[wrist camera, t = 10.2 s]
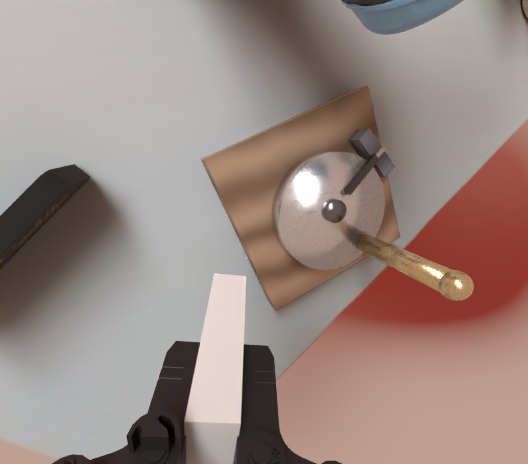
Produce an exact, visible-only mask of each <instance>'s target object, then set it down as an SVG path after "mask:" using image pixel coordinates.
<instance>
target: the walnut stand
mask: <svg viewBox="0 0 528 464" xmlns="http://www.w3.org/2000/svg"><path fill="white" fill-rule="evenodd" d="M385 150H386V148H385V147H384V146H382V147H381V145H380V140H379V135H378V131H377V126H376V121H375V117H374V112H373V107H372V103H371V98H370V93H369V89H368V86H366V87H362V88H359V89H355V90H353V91H351V92H348V93H346V94H344V95H342V96H340V97H337V98H335V99H333V100H331V101H329V102H326V103H324V104H322V105H320V106H318V107H315V108H313V109H311V110H309V111H306V112H304V113H302V114H300V115H298V116H295V117H293V118H291V119H289V120H287V121H284V122H282V123H280V124H278V125H276V126H273V127H271V128H269V129H267V130H265V131H262V132H260V133H258V134H256V135H254V136H251V137H249V138H247V139H245V140H243V141H240V142H238V143H236V144H234V145H232V146H229V147H227V148H225V149H223V150H221V151H218V152H216V153H214V154H212V155H210V156H207V157H205V158H203V159H201V160H202V162H203V165H204V167H205V169H206V171H207V173H208V175H209V177H210V179H211V181H212V183H213V186H214V188H215V190H216V192H217V194H218V196H219V198H220V200H221V202H222V204H223V206H224V209H225V211H226V213H227V215H228V217H229V219H230V221H231V223H232V225H233V227H234V230H235V232H236V234H237V236H238V238H239V240H240V242H241V244H242V246H243V248H244V250H245V253H246V255H247V257H248V259H249V261H250V263H251V265H252V267H253V269H254V271H255V274H256V276H257V278H258V280H259V282H260V284H261V286H262V288H263V290H264V292H265V294H266V297H267V299H268V301H269V302H270V304H271V305H272V306H273V308H274V309H275V311H277V310H278V309H280V308H282V307H283V306H285V305H287V304H288V303H290V302H292V301H293V300H295V299H297V298H298V297H300V296H302V295H303V294H305V293H307V292H309V291H310V290H312V289H314V288H315V287H317V286H319V285H320V284H322V283H324V282H325V281H327V280H329V279H330V278H332V277H334V276H335V275H337V274H339V273H341V272H342V271H344V270H346V269H347V268H349V267H351V266H352V265H354V264H356V263H357V262H359V261H361V260H362V259H364V258H366V257H367V256H369V255H367V254H365V253H363V254H361V255H360V256H359V257H358V258H357V259H355V260H354V261H352V262H351V263H349V264H347V265H345V266H343V267H340V268H336V269H331V270H318V269H313V268H310V267H307V266H305V265H303V264H302V263H300V262H299V261H298V260H296V259H295V258H294V257H293V256H291V255H290V254H289V253H288V252H287V251H286V250H285V249H284V248H283V247H282V246H281V244H280V243H279V241H278V239H277V237H276V235H275V232H274V228H273V223H272V206H273V200H274V197H275V193H276V191H277V188H278V186H279V184H280V182H281V180H282V179H283V177H284V176H285V175H286V173H287V172H288V171H289V170H290V169H291V168H292V167H293V166H294V165H295V164H296V163H297V162H299V161H300V160H302V159H303V158H305V157H307V156H310V155H312V154H315V153H319V152H347V153H352V154H355V155H358V156H360V157H362V158H364V159H365V160H366V161H367V160H368V159H369V157H370V156H371V155H372V154H376V156H377V157H378V158H379V160H378V162H377V163H376V164H375V165H374V169H375V170H376V172H377V173H378V175H379V177H380V179H381V182H382V185H383V189H384V196H385V208H384V215H383V219H382V223H381V226H380V228H379V231H378V233H377V235H376V237H375V238H377V239H380V240H382V241H385V242H387V243H391V242H393V241H394V240H396V239H398V238H399V237H400V234H399V229H398V224H397V220H396V215H395V210H394V206H393V201H392V196H391V191H390V187H389V182H388V177H387V175H388V174H389V173H390V171H391V170H392V169H393V168H394V167H395V166H394V165H393V163H392V162H391V160H390V159H389V157H388V156H387V154H386V153H385Z"/></svg>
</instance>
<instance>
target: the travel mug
mask: <svg viewBox="0 0 528 464" xmlns="http://www.w3.org/2000/svg"><path fill="white" fill-rule="evenodd" d="M522 5H523V9H524V13H525V15H526V17H527V18H528V0H522Z"/></svg>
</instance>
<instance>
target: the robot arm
mask: <svg viewBox="0 0 528 464" xmlns="http://www.w3.org/2000/svg"><path fill="white" fill-rule="evenodd" d="M341 1H342V2H343V4H345V5H346V7H348V8H350V9H351V10H352V11H353V12H354V13H355V14H356V16H357V17H358V18H359V20H360V21H361V22H362V24H363V25H364V26H365V27H366V28H367V29H369V30H370V31H372V32H374V33H377V34H385V35H386V34H395V33H400V32H404V31H407V30H409V29H412V28H415V27H417V26H419V25H422V24H424V23H426V22H428V21H430V20H432V19H434V18H436V17H438V16H439V15H441V14H443V13H445V12H446V11H448V10H450V9H451V8H453V7H454V6H456V5H457V4H459V3H460V2H462V1H463V0H341ZM245 296H246V276H240V275H228V274H215V273H214V277H213V282H212V287H211V292H210V297H209V302H208V307H207V312H206V317H205V322H204V327H203V332H202V337H201V342H184V341H176V342H175V343H174V344H173V345H172V347H171V348H170V349H169V350H168V351H167V353H166V357H165V360H164V363H163V367H162V369H161V372H160V375H159V380H158V382H157V385H156V388H155V391H154V394H153V397H152V401H151V404H150V407H149V410H148V413H147V414H145V415H143V416H142V417H140V418H139V419H138V420H137V421H136V422H135V423H134V424H133V425H132V427H131V429H130V430H129V432H128V434H127V441H128V445H127V446H125V447H124V448H122V449H120V450H118V451H116V452H113V453H110V454H107V455H104V456H101V457H98V458H95V459H92V460H89V459H87V458H86V457H84V456H83V455H73V454H72V455H69V456H66V457H63V458H60V459H59V460H57V461H56V462H54V463H53V464H316V463H313V462H311V461H309V460H307V459H304V458H302V457H300V456H298V455H297V454H295V453H293V452H292V451H291V450H290V449H289V448H288V447H287V445H286V444H285V442H284V441H283V439H282V436H281V434H280V430H279V419H278V406H277V392H276V378H275V365H274V357H273V355H272V353H271V351H270V349H269V347H268V346H261V345H245V344H244V323H245ZM322 464H341V463H339V462H337V461H325V462H324V463H322Z"/></svg>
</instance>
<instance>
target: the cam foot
mask: <svg viewBox="0 0 528 464" xmlns="http://www.w3.org/2000/svg"><path fill="white" fill-rule="evenodd" d="M378 160H379V158H378V157H377V156H376V154H372V155H371V156H370V157H369V159H368V160H367V161H366V160H365V159H364V158H362V157H360V156H358V155H355V154H352V153H347V152H319V153H315V154H312V155H310V156H307V157H305V158H303V159H302V160H300V161H299V162H297V163H296V164H295V165H294V166H293V167H292V168H291V169H290V170H289V171H288V172H287V173H286V175H285V176H284V177H283V179H282V180H281V182H280V184H279V186H278V188H277V191H276V193H275V197H274V200H273V206H272V223H273V228H274V232H275V235H276V237H277V239H278V241H279V243H280V244H281V246H282V247H283V248H284V249H285V250H286V251H287V252H288V253H289V254H290V255H291V256H293V257H294V258H295V259H296V260H298V261H299V262H300V263H302V264H303V265H305V266H307V267H310V268H313V269H318V270H331V269H336V268H340V267H343V266H345V265H347V264H349V263H351V262H352V261H354V260H355V259H357V258H358V257H359V256H360V255H361V254H363V253H365V254H367V255H369V256H371V257H373V258H375V259H377V260H379V261H381V262H383V263H385V264H387V265H388V266H390V267H392V268H395V269H396V270H398V271H400V272H402V273H404V274H406V275H408V276H410V277H412V278H414V279H416V280H417V281H420V282H421V283H423V284H425V285H427V286H429V287H431V288H433V289H435V290H437V291H439V292H441V294H442V295H443V296H445V297H446V298H448V299H451V300H456V301H458V300H464V299H466V298H468V297H469V296H470V295H471V294H472V292H473V287H474V286H473V282H472V280H471V278H470V277H469V276H468V275H467V274H465V273H464V272H461V271H457V270H451V269H449V268H447V267H444V266H442V265H439V264H437V263H435V262H432V261H430V260H427V259H425V258H423V257H420V256H418V255H416V254H413V253H411V252H408V251H406V250H404V249H401V248H399V247H397V246H394V245H392V244H389V243H387V242H385V241H382V240H380V239H377V238H375V237H376V235H377V233H378V231H379V228H380V226H381V223H382V219H383V215H384V208H385V196H384V189H383V185H382V182H381V179H380V177H379V175H378V173H377V172H376V170H375V169H374V165H375V164H376V163H377V162H378Z"/></svg>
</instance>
